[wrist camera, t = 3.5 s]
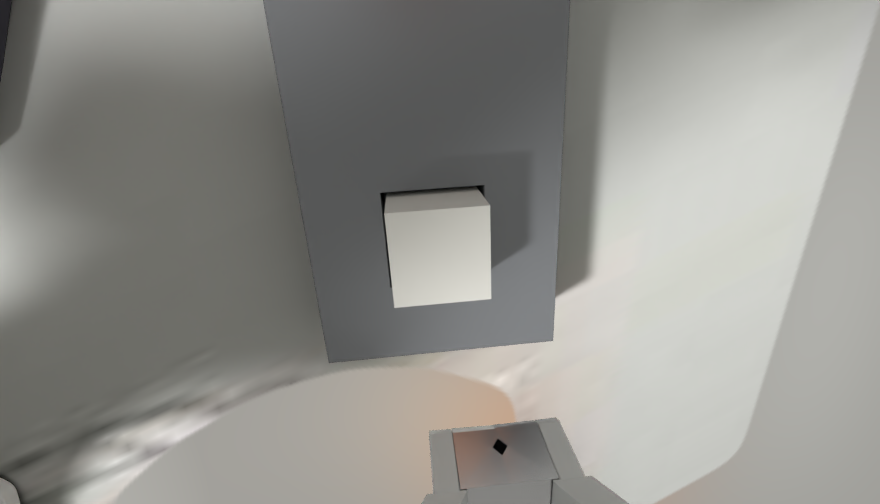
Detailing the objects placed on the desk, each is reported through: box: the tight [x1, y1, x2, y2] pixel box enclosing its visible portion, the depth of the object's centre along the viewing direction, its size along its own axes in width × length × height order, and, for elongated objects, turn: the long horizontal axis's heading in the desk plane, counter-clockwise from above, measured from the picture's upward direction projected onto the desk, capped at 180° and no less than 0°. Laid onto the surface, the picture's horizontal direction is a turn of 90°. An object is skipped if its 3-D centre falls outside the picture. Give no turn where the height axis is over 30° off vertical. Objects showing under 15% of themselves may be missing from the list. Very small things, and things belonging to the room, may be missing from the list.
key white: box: [384, 187, 491, 308], centre depth 23 cm, size 5×5×4 cm
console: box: [263, 0, 570, 363], centre depth 23 cm, size 30×14×4 cm, turn 3°
